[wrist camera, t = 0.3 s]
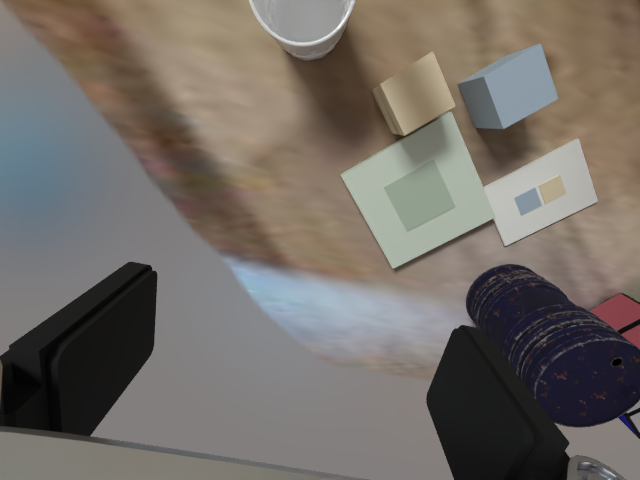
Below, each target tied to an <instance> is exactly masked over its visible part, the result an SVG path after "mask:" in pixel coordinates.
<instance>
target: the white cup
mask: <svg viewBox="0 0 640 480" xmlns="http://www.w3.org/2000/svg"><path fill="white" fill-rule="evenodd" d="M249 2H250V5H251V8H252V10H253V12H254V14H255V16H256V18H257V19H258V21H259V22H260V24H261V25H262V26H263V28H264V29H265V30H266V31H267V32H268V33H269V34H270V35H271V37H272V38H273V39H274V40H275V41H276V42H277V43H278V44H279V45H280V46H281V47H282V48H283V49H284V50H286V51H287V52H289V53H290V54H291V55H292V56H293V57H297V58H300V59H303V60H306V61H309V60H315V59H320V58H323V57H324V56H325V55H326V54H328V53H329V52H330V51H331V50H333V49H334V48H335V46H336V44H337V42H338V41H339V39H340V38H341V36H342V34H343V32H344V30H345V28H346V25H347V23H348V20H349V17H350V15H351V12H352V9H353V7H354V4H355V0H249Z"/></svg>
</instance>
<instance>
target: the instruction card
mask: <svg viewBox="0 0 640 480" xmlns="http://www.w3.org/2000/svg"><path fill="white" fill-rule="evenodd" d="M483 188H484V190H485V193H486V195H487V198H488V200H489V202H490V205H491V207H492V209H493V212H494V214H495V218H493V221H494V223H495V226H496V228H497V230H498V233H499V235H500V237H501V240H502V242H503V244H504V246H507V245H509V244H511V243H513V242H515V241H517V240H519V239H521V238H524V237H526V236H528V235H530V234H532V233H534V232H536V231H538V230H540V229H542V228H544V227H546V226H548V225H550V224H553V223H555V222H557V221H559V220H561V219H563V218H565V217H567V216H569V215H571V214H573V213H575V212H577V211H579V210H582V209H584V208H586V207H588V206H590V205H592V204H594V203H596V202H598V200H597V196H596V193H595V190H594V187H593V183H592V180H591V177H590V174H589V171H588V167H587V164H586V161H585V158H584V154H583V151H582V148H581V145H580V141H579V138H576V139H574V140H572V141H571V142H569V143H567V144H565V145H563V146H561V147H559V148H557V149H555V150H553V151H551V152H550V153H548V154H546V155H544V156H542V157H540V158H538V159H536V160H534V161H532V162H530V163H528V164H527V165H525V166H523V167H521V168H519V169H517V170H515V171H513V172H511V173H509V174H507V175H506V176H504V177H502V178H500V179H498V180H496V181H494V182H492V183H490V184H488V185H486V186H485V187H483Z"/></svg>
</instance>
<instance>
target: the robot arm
mask: <svg viewBox="0 0 640 480" xmlns="http://www.w3.org/2000/svg"><path fill="white" fill-rule="evenodd" d="M156 293H157V273H156V271H152V267H151V266H150V265H146V264H140V263H135V262H128V263H127V264H125V265H124V266H122V267H121V268H119V269H118V270H117V271H115V272H114V273H112V274H111V275H109V276H108V277H107V278H105V279H104V280H102V281H101V282H99V283H98V284H97V285H95V286H94V287H92V288H91V289H89V290H88V291H87V292H85V293H84V294H82V295H81V296H80V297H78V298H77V299H75V300H74V301H72V302H71V303H70V304H68V305H67V306H65V307H64V308H62V309H61V310H59V311H58V312H57V313H55V314H54V315H52V316H51V317H49V318H48V319H47V320H45V321H44V322H42V323H41V324H40V325H38V326H37V327H36V328H34V329H33V330H31V331H29V332H28V333H27V334H25V335H24V336H22V337H21V338H20V339H18V340H17V341H15V342H14V343H12V344H11V345H10V346H9V350H8V351H7V352H5V353H4V354H3V355H1V356H0V480H368V479H361V478H355V477H349V476H342V475H337V474H330V473H324V472H317V471H312V470H306V469H300V468H293V467H287V466H281V465H275V464H268V463H262V462H256V461H250V460H243V459H237V458H230V457H223V456H217V455H211V454H204V453H198V452H191V451H184V450H179V449H172V448H166V447H159V446H153V445H145V444H140V443H133V442H126V441H120V440H112V439H105V438H98V437H90V435H91V434H92V433H93V431H94V430H95V429H96V427H97V426H98V425H99V423H100V422H101V421H102V419H103V418H104V417H105V415H106V414H107V412H108V411H109V410H110V409H111V407H112V406H113V405H114V403H115V402H116V401H117V400H118V398H119V397H120V396H121V394H122V393H123V391H124V390H125V389H126V388H127V386H128V385H129V384H130V382H131V381H132V380H133V378H134V377H135V376H136V374H137V373H138V372H139V370H140V369H141V368H142V366H143V365H144V364H145V362H146V361H147V360H148V358H149V357H150V355H151V353H152V350H153V347H154V334H155V333H154V332H155V314H156ZM427 406H428V409H429V411H430V415H431V417H432V420H433V423H434V426H435V428H436V431H437V434H438V437H439V439H440V442H441V445H442V447H443V450H444V453H445V456H446V458H447V461H448V464H449V466H450V469H451V472H452V475H453V477H454V480H626V479H625V478H624V477H622V476H621V475H620V474H619V473H617V472H616V471H614V470H613V469H611V468H610V467H608V466H607V465H605V464H603V463H601V462H599V461H597V460H595V459H592V458H589V457H586V456H578V455H577V456H574V457H571V459H570V458H569V456H568V455H567V454H566V452H565V450H566V448H567V446H568V445H569V442H568V440H567V439H566V438H565V436H564V435H563V434H562V432H561V431H560V430H559V429H558V427H557V426H556V425H555V423H554V422H553V421H552V419H551V418H550V417H549V416H548V414H547V413H546V412H545V410H544V409H543V408H542V407H541V405H540V404H539V403H538V401H537V400H536V399H535V397H534V396H533V395H532V394H531V392H530V391H529V390H528V388H527V387H526V386H525V384H524V383H523V382H522V381H521V379H520V378H519V377H518V375H517V374H516V373H515V372H514V370H513V369H512V368H511V366H510V365H509V364H508V362H507V361H506V360H505V359H504V357H503V356H502V355H501V353H500V352H499V351H498V349H497V348H496V347H495V346H494V344H493V343H492V342H491V340H490V339H489V338H488V337H487V335H486V334H485V333H484V331H483V330H482V329H480V328H475V327H470V326H465V325H461V326H460V327H459V328H458V329H454V330H453V331H452V333H451V336H450V338H449V341H448V343H447V346H446V348H445V351H444V353H443V356H442V358H441V361H440V363H439V366H438V368H437V371H436V373H435V376H434V378H433V381H432V383H431V385H430V388H429V390H428V393H427Z"/></svg>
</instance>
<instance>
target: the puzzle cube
mask: <svg viewBox="0 0 640 480" xmlns="http://www.w3.org/2000/svg"><path fill="white" fill-rule="evenodd" d="M589 311H590V312H592V313H594V314H595V315H596V316H598V317H599V318H600V319H601V320H603V321H604V322H606V323H607V324H608V325H610V326H611V327H613V328H614V329H616V330H617V331H618V333H619V334H620V335H622V336H623V337H624V338H626V339H627V340H628V341H630V342H631V343H633V344H634V345H635V346H637V347H638V348H640V303H639V302H637V301H636V300H634V299H632V298H630V297H629V296H627V295H625V294H623V293H620V294H618V295H616V296H614V297H612V298H611V299H609V300H607V301H605V302H603V303H602V304H600V305H598V306H596V307H594V308H593V309H591V310H589ZM618 418H619V419H620V420H621V421H622V422H623V423H624V424H625V425H626V426H627V427H628V428H629V429H630V430H631V431H632V432H633V433H634V434H635V435H636V436H637V437H638V438H639V439H640V401H639V402H638V403H637V404H636V405H635V406H634V407H632V408H631V409H630V410H629V411H627V412H626V413H624V414H623V415H621V416H619V417H618Z"/></svg>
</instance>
